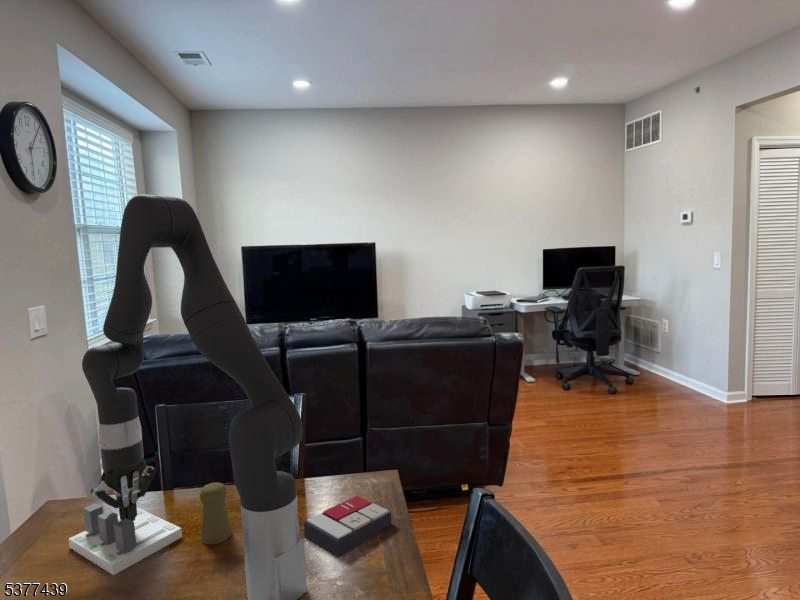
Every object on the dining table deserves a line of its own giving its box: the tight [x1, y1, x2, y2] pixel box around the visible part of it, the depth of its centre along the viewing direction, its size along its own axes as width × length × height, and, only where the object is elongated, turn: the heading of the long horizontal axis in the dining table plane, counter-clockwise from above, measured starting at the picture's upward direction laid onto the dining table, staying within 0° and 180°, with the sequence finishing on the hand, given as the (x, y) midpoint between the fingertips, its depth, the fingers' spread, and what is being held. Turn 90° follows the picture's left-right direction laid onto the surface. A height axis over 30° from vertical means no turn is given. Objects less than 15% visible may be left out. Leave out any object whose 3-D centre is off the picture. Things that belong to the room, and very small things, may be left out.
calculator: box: [303, 495, 392, 558], centre depth 104 cm, size 11×4×15 cm
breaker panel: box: [68, 507, 183, 576], centre depth 102 cm, size 17×14×2 cm
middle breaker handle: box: [98, 510, 119, 544], centre depth 99 cm, size 3×2×5 cm
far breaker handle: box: [82, 502, 104, 535], centre depth 103 cm, size 3×2×5 cm
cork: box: [199, 482, 233, 545], centre depth 103 cm, size 6×6×11 cm
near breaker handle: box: [114, 518, 136, 553], centre depth 96 cm, size 3×2×5 cm
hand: (129, 521), depth 103 cm, fingers closed
